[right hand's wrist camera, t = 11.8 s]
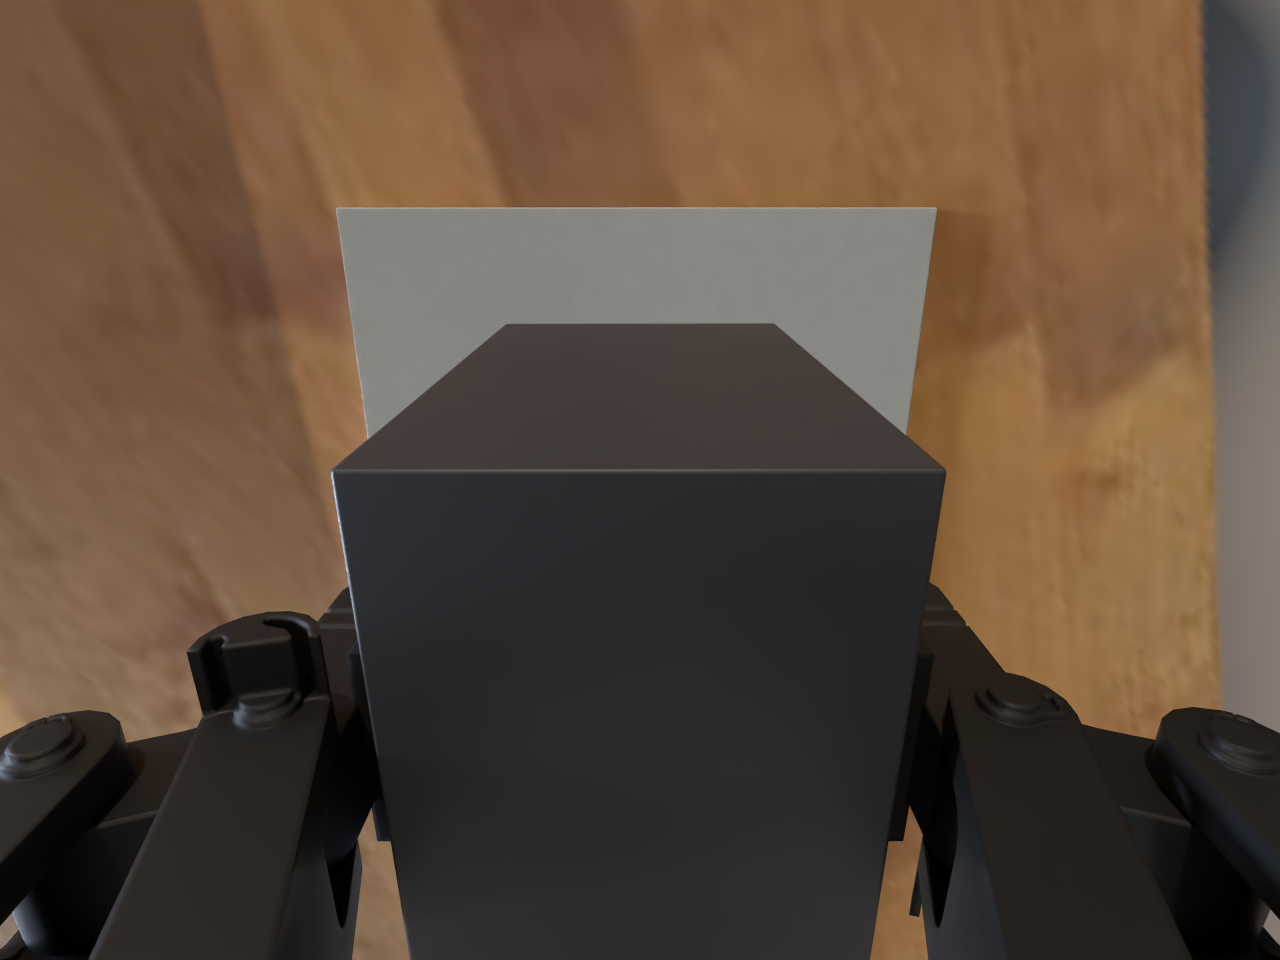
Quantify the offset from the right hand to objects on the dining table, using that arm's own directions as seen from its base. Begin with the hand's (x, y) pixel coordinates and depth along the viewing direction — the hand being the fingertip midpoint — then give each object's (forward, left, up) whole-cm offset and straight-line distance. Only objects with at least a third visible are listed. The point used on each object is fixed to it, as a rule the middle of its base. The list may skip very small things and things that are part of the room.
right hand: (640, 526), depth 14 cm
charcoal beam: (0, -12, 0) cm, 12 cm away
